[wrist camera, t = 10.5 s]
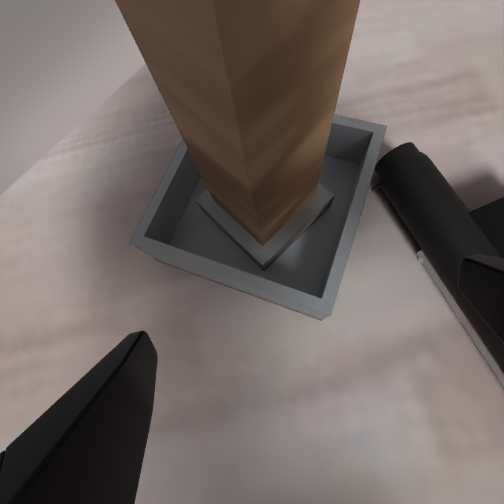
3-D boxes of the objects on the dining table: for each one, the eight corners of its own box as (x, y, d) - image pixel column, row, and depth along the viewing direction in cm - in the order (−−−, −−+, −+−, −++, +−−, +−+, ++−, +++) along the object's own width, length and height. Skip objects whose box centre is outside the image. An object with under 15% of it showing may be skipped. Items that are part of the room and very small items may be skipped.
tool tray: (320, 320, 17) (330, 315, 13) (157, 260, 19) (129, 242, 15) (368, 163, 19) (386, 126, 16) (220, 127, 22) (209, 87, 18)
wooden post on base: (264, 271, 17) (204, 43, 4) (201, 210, 19) (13, -94, 6) (330, 206, 18) (463, -161, 5) (264, 153, 20) (229, -227, 7)
